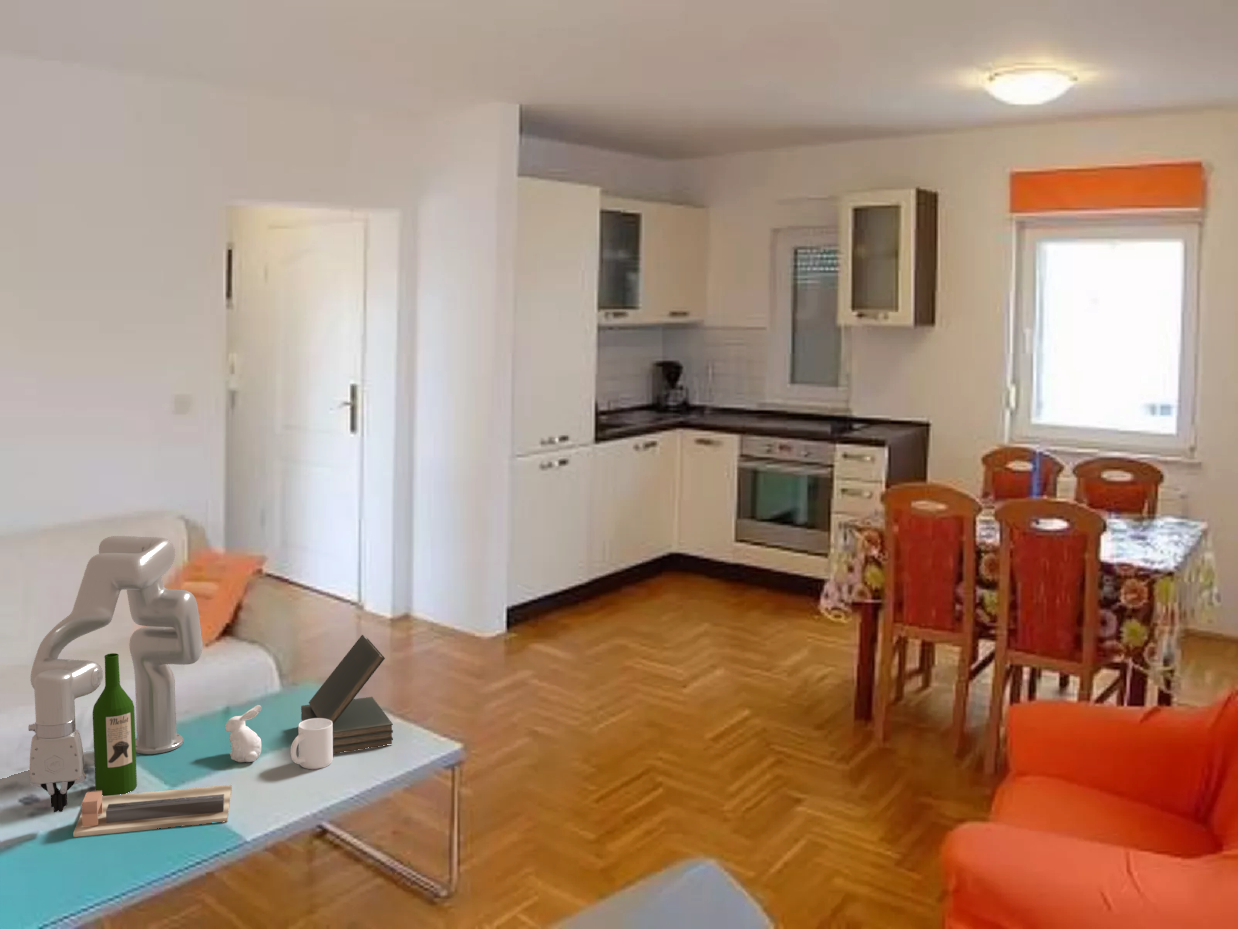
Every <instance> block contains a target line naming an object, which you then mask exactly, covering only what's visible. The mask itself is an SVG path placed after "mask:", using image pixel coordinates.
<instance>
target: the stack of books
mask: <svg viewBox="0 0 1238 929" xmlns="http://www.w3.org/2000/svg"><path fill="white" fill-rule="evenodd" d="M385 659H386V657H384V655H383V654H382V653H381V652H380V650H378V648H377V647H376V646H375V645H374V644H373V642H371V640H370V639H369V638H368V637H367V636H365V635H364V634H361V635H360V637H359V638H358V639H357V640H356V642H355V643H354V644H353V645H352V647H351V648H350V649H349V651H348V652H347V653H346V654H345V656H344V657H343V658H342V660H341V661H340V662H339V663H338V664H337V666H336V667H335V668H334V669H333V671H331V673H330V675H329V676H328V677H327V679H326V680H325V681H324V682H323V683H322V685H321V686H320V688H318V690H317V691H316V692H315V694H314V695H313V696H312V697H311V699H310V700H309V702H308V704H305V705H301V706H300V707H301V708H300V713H301V714H300V717H301V718H300V722H302V721H304V720H307V719H313V718H325V719H329V720H331V721H332V723H333V755H334V753H336V754H341V753H340V752H343V753H345V752H344V751H350V752H355V751H354V750H356V751H359V750H358V749H363V750H366V749H365V748H368V747H369V748H370V749H372V748H371V747H377V748H379V747H378V746H383V745H387V744H392V745H393V740H394V737H393V733H394V730H393V729H392V728H393V725H394V724H393V722H392V720H390V718H389V717H388V716H387V714H386V713H385V712H384V710H383V709H382V708H381V706H380V705H379V704H378V702H377V701H376V700H375V698H374V697H373V696H369V697H366V696H365V697H359V698H355V697H356V696H357V695H358V694H359V692H360V691H361V690H362V689H363V687H364V686H365V685H366V684H367V682H368V681H369V680H370V679H371V677H372V676H373V675H374V673H375V672H376V670H377V669H378V668H379V667H380V666H381V664H382V663H383V662H384V660H385ZM383 747H384V746H383Z"/></svg>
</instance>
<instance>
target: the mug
mask: <svg viewBox="0 0 1238 929" xmlns="http://www.w3.org/2000/svg"><path fill="white" fill-rule="evenodd" d="M301 721H302V720H301ZM301 721H300V722H299V723H298V726H297V727H298V732H297V733H298V735H297V736H295V738H294V740H292V743H291V746H290V758H291V761H292V762H294V763H295V764H296V765H297V764H298V765H299V766H301V767H302V768H304V769H307V770H320V769H323V768H326V767H329V766H330V765H331V764H332V763H333V761H334V760H333V759H334V754H333V723H332V721H331V720H329V719H325V718H313V719H307V720H304V721H302V722H301ZM297 748H298V755H297Z"/></svg>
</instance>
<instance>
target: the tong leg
mask: <svg viewBox="0 0 1238 929" xmlns="http://www.w3.org/2000/svg"><path fill="white" fill-rule="evenodd" d="M221 797H224V794H221V795H209V796H198V797H186V798H175V799H164V800H152V801H141V802H129V803H118V804H109V805H108V807H107V808H113V807H123V806H134V805H145V804H156V803H167V802H178V801H189V800H200V799H210V798H221Z"/></svg>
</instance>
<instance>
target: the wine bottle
mask: <svg viewBox="0 0 1238 929" xmlns="http://www.w3.org/2000/svg"><path fill="white" fill-rule="evenodd" d="M119 656H120V655H119V654H118V653H113V652H111V653H107V654H105V655H104V657H103V658H104V683H105V686H104V688H103V690H102V692H101V693H100V695H99V697H98V698H97V700H96V701H95V703H94V705H93V707H92V708H93V709H92V733H93V734H92V735H93V756H94V757H93V759H94V760H93V761H94V764H93V765H94V781H95V782H94V784H95V791H99V790H102V795H103V796H110V795H120V794H126V793H127V794H129V793H131V792H133V791H135V789H136V788H137V785H138V777H137V753H136V743H135V739H136V720H135V719H136V716H135V715H136V713H135V705H134V702H133V700H132V699H131V698H130V695H128V694H127V692H126V691H125V690H124V689H123V687H122V685H121V679H120V678H121V677H120V665H119V664H120V662H119V661H120V660H119ZM130 791H131V792H130ZM128 792H129V793H128Z"/></svg>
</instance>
